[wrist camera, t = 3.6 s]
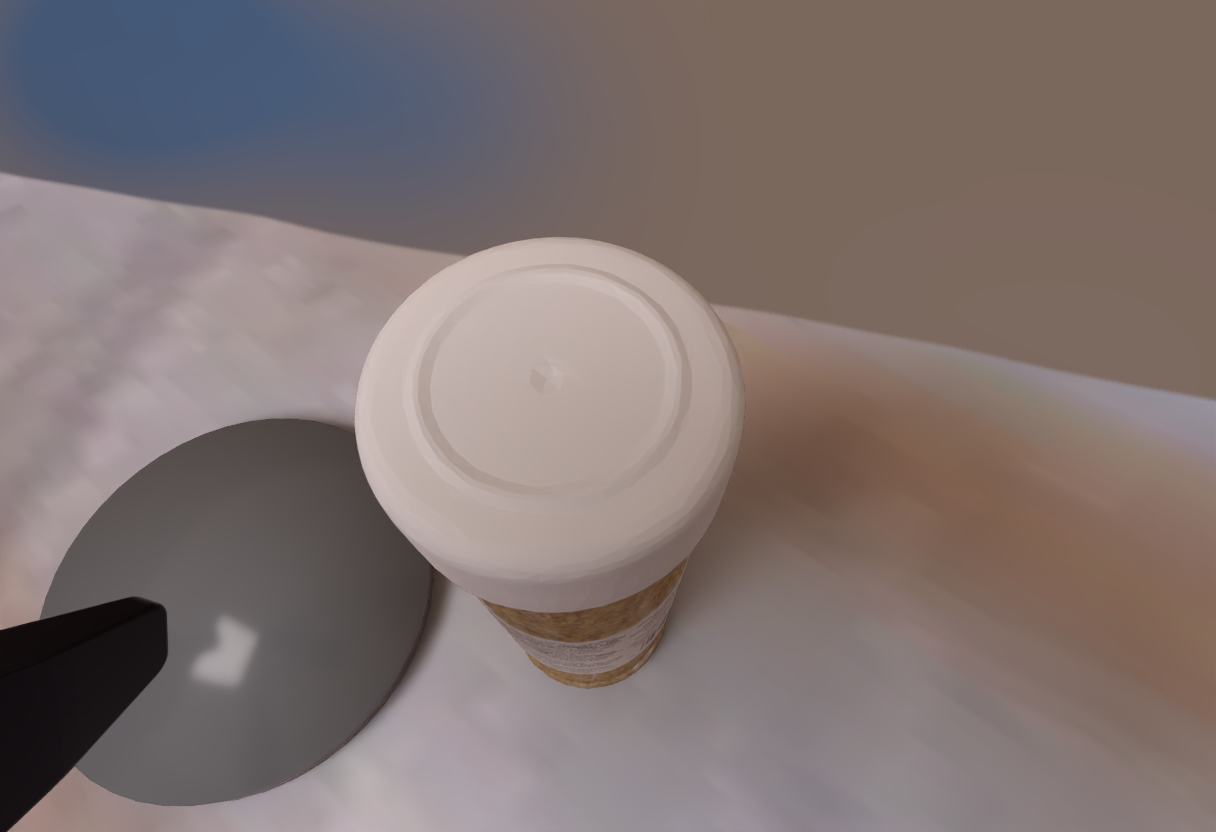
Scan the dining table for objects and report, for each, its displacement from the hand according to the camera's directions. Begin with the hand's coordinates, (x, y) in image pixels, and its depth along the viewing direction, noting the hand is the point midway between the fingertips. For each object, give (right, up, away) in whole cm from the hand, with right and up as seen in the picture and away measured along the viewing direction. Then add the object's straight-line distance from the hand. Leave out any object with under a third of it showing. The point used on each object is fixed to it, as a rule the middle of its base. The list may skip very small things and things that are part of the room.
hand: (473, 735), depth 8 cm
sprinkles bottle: (+1, -2, +11) cm, 11 cm away
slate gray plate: (-9, -1, +11) cm, 15 cm away
